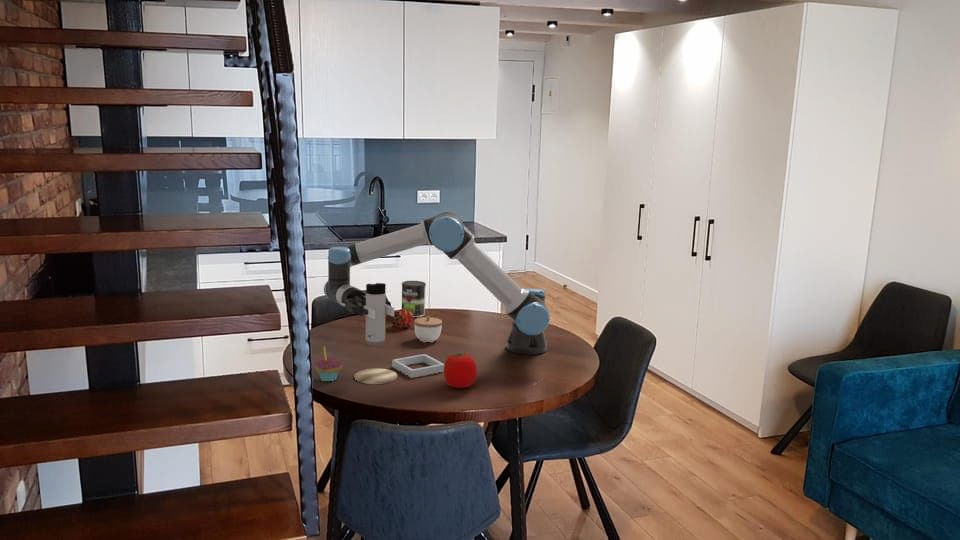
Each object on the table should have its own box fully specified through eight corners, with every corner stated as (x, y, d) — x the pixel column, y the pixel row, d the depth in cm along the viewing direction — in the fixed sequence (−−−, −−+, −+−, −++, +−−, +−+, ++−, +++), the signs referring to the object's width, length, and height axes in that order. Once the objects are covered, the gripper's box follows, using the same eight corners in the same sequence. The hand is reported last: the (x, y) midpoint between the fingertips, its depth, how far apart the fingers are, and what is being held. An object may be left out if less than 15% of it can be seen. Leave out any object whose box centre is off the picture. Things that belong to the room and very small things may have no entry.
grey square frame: (424, 360, 260) (424, 354, 259) (444, 371, 249) (445, 364, 249) (392, 366, 252) (392, 359, 252) (411, 378, 242) (411, 370, 241)
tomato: (480, 391, 233) (481, 358, 230) (447, 393, 230) (448, 360, 227) (471, 379, 242) (472, 348, 240) (439, 381, 239) (440, 349, 237)
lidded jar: (440, 345, 279) (441, 321, 277) (412, 343, 279) (412, 319, 277) (442, 336, 289) (443, 313, 287) (415, 335, 289) (415, 312, 288)
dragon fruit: (394, 335, 294) (406, 331, 306) (411, 324, 292) (422, 321, 303) (384, 316, 295) (396, 314, 307) (400, 306, 293) (412, 304, 305)
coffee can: (419, 318, 314) (420, 286, 311) (397, 316, 317) (398, 284, 314) (428, 313, 324) (429, 281, 321) (406, 310, 327) (407, 279, 324)
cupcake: (328, 385, 232) (328, 349, 230) (309, 380, 236) (308, 344, 234) (347, 378, 239) (347, 343, 237) (328, 373, 244) (327, 338, 241)
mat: (405, 375, 244) (405, 373, 244) (380, 387, 232) (380, 385, 232) (371, 367, 251) (371, 365, 251) (345, 378, 239) (345, 377, 239)
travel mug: (369, 346, 235) (370, 285, 231) (362, 340, 241) (363, 280, 237) (388, 344, 238) (389, 284, 234) (381, 338, 244) (381, 279, 240)
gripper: (376, 305, 258) (409, 321, 239) (325, 311, 247) (356, 328, 228) (376, 284, 256) (410, 298, 238) (325, 289, 245) (356, 305, 227)
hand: (383, 313), depth 233 cm, fingers closed on travel mug, 6 cm apart
